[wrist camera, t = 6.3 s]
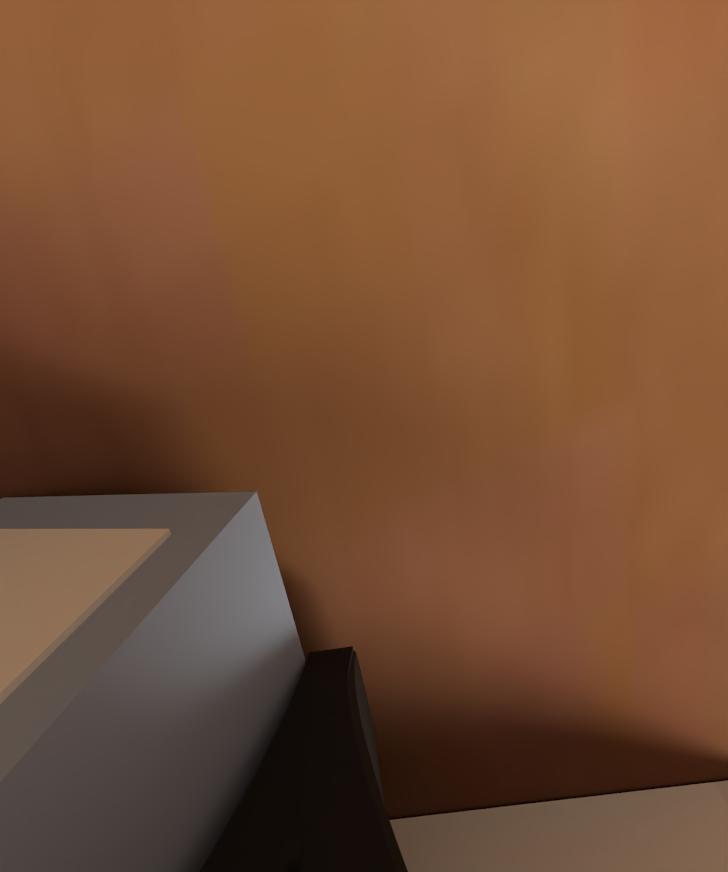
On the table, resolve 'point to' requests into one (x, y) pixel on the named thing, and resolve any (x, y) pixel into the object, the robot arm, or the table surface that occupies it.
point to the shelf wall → (577, 834)
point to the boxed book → (135, 676)
